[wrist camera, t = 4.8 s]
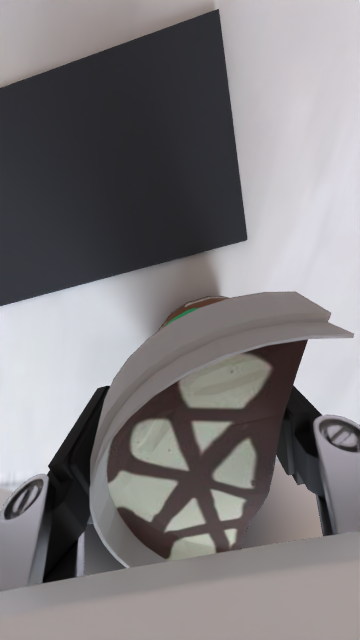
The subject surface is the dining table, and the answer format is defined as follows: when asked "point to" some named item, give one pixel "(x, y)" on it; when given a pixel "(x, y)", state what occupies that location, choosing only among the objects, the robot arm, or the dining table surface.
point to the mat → (118, 162)
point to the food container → (198, 426)
